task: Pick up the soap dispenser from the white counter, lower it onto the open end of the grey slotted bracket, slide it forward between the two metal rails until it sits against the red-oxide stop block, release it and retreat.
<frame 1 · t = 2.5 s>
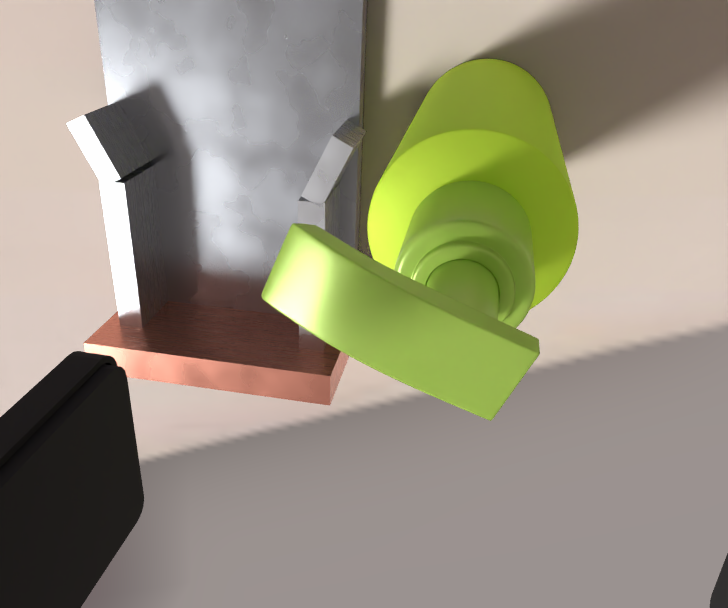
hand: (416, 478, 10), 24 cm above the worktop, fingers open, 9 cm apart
soap dispenser: (473, 121, 31), on the worktop
grey slotted bracket: (240, 166, 34), on the worktop
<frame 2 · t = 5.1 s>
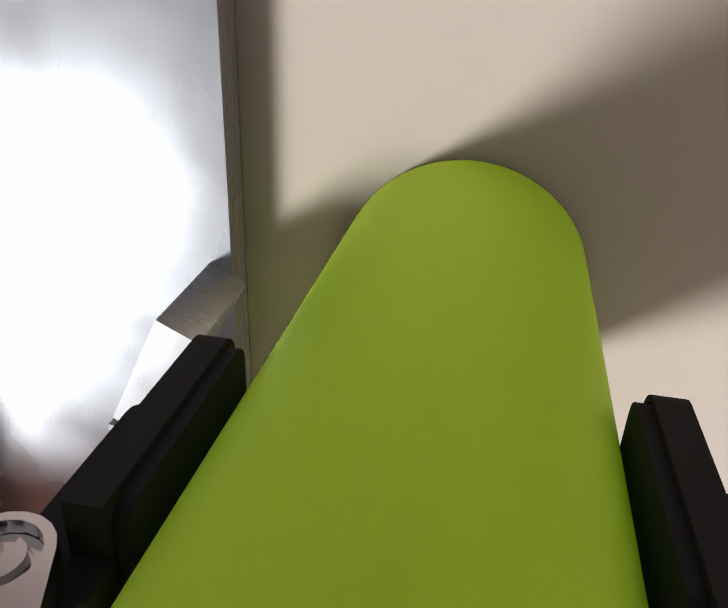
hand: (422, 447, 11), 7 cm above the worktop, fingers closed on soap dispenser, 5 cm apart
soap dispenser: (442, 264, 17), on the worktop, touching gripper
grey slotted bracket: (48, 320, 20), on the worktop
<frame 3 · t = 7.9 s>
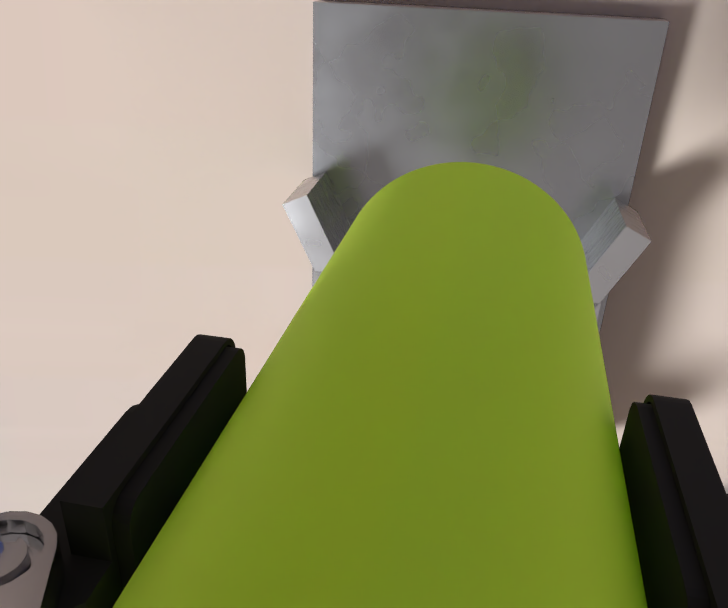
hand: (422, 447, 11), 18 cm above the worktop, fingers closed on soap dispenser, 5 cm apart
soap dispenser: (442, 266, 17), point 11 cm above the worktop, touching gripper
grey slotted bracket: (459, 245, 29), on the worktop
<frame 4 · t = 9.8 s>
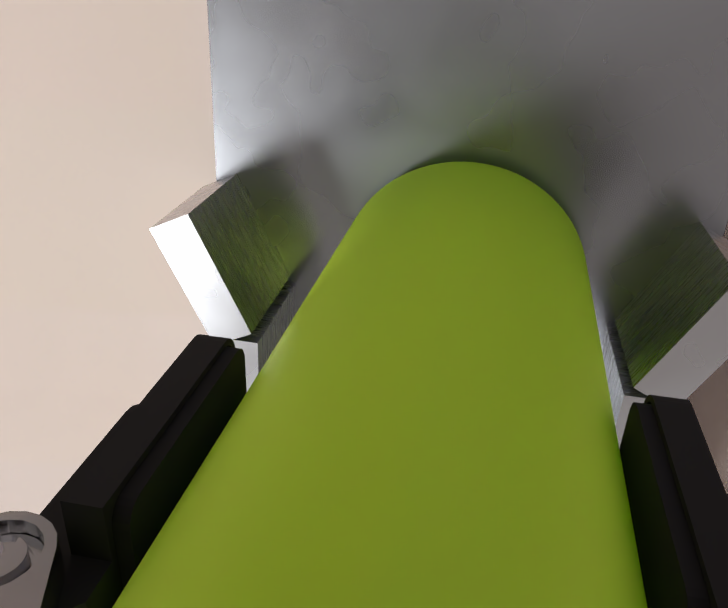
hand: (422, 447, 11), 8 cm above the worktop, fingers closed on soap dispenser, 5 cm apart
soap dispenser: (442, 266, 17), point 1 cm above the worktop, touching gripper
grey slotted bracket: (448, 289, 19), on the worktop
when the fingers open (8 cm above the worktop, at t = 11.1 s): soap dispenser stays where it is, resting on grey slotted bracket.
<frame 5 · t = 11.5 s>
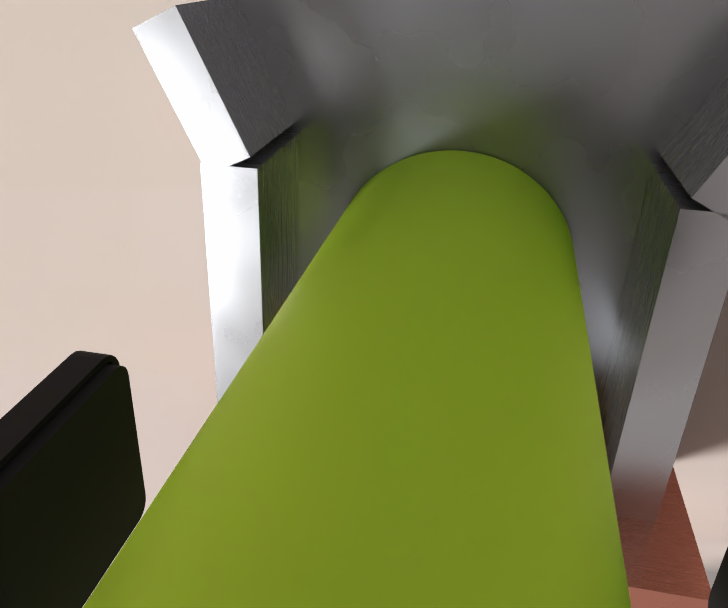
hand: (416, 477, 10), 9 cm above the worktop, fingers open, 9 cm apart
soap dispenser: (432, 254, 17), point 1 cm above the worktop, touching grey slotted bracket
grey slotted bracket: (470, 138, 17), on the worktop
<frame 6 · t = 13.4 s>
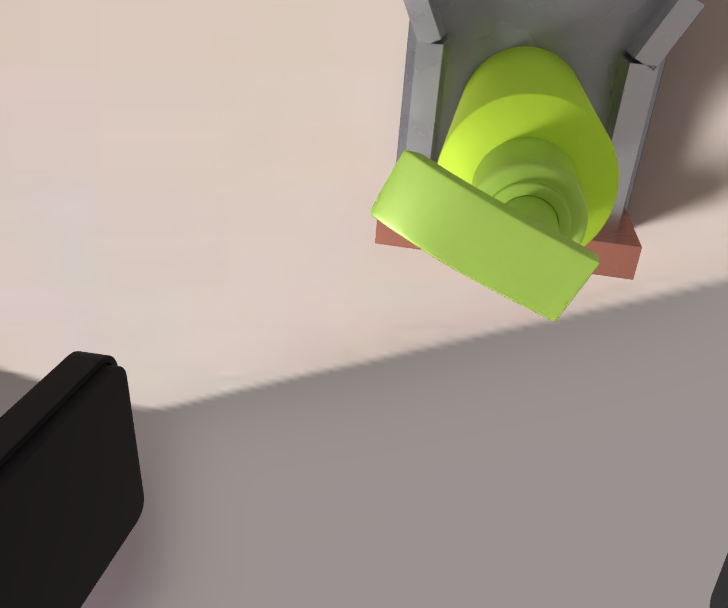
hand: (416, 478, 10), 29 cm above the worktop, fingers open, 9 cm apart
soap dispenser: (511, 103, 34), point 1 cm above the worktop, touching grey slotted bracket
grey slotted bracket: (533, 43, 34), on the worktop
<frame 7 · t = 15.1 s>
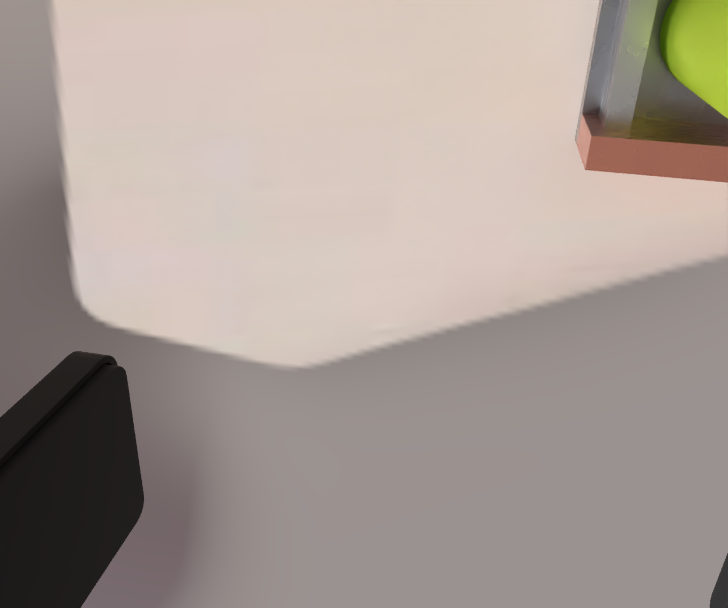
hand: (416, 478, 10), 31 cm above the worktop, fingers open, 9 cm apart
soap dispenser: (714, 24, 33), point 1 cm above the worktop, touching grey slotted bracket
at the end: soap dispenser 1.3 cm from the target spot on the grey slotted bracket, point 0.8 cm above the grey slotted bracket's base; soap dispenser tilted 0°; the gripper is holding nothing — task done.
